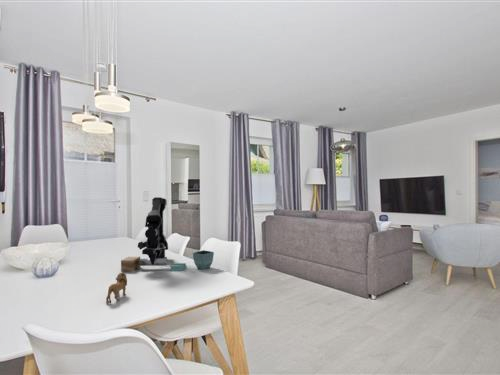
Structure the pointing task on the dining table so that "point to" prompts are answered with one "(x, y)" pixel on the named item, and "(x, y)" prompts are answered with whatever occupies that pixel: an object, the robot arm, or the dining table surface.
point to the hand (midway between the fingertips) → (154, 263)
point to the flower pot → (203, 259)
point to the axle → (157, 262)
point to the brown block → (130, 263)
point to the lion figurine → (117, 287)
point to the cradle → (178, 267)
